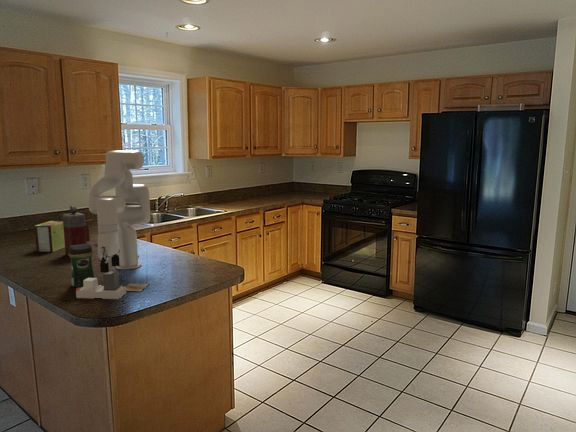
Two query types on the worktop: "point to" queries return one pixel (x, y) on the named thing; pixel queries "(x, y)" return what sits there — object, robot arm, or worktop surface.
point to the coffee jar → (81, 263)
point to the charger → (111, 280)
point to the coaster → (135, 287)
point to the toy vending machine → (75, 229)
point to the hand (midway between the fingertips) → (110, 269)
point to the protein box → (49, 236)
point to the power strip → (98, 290)
